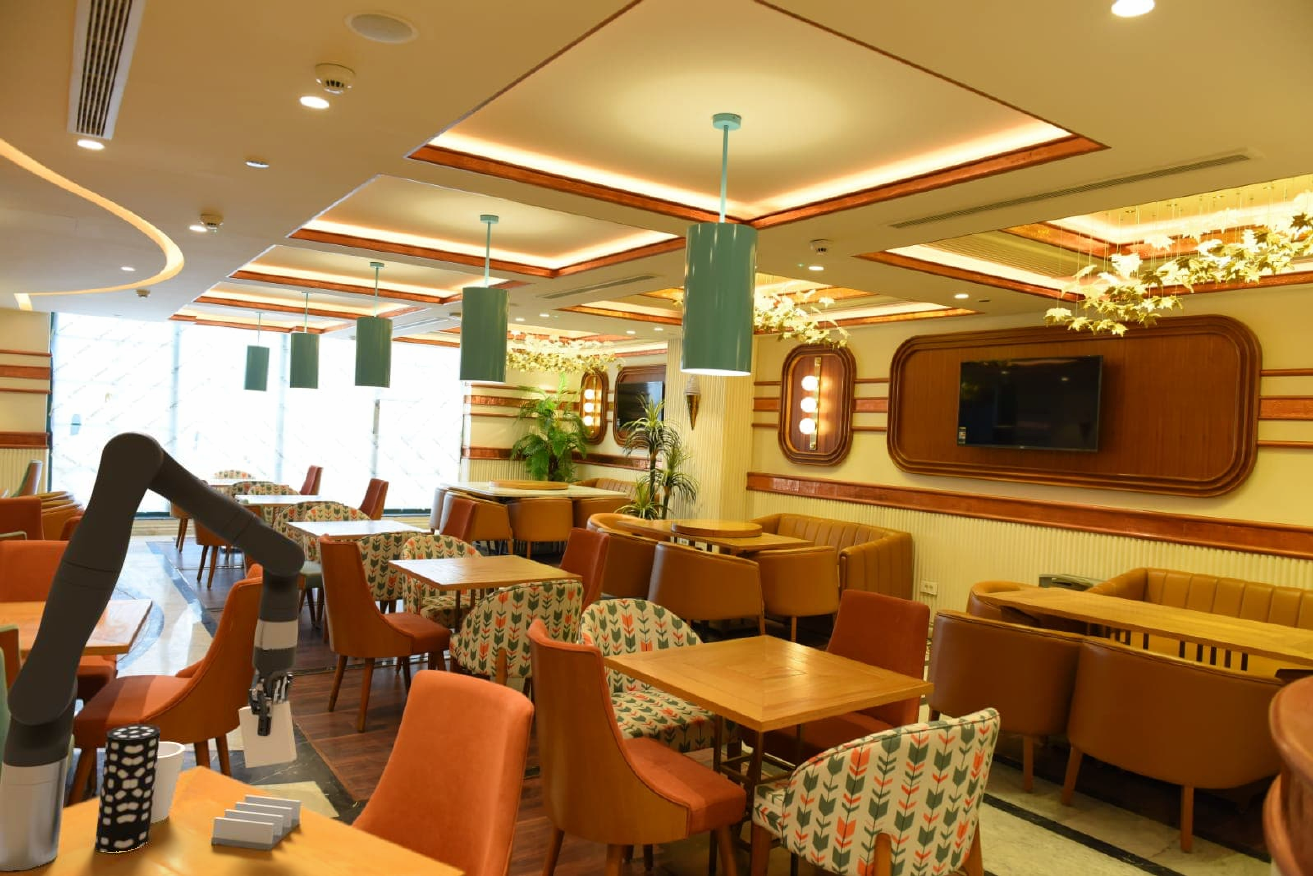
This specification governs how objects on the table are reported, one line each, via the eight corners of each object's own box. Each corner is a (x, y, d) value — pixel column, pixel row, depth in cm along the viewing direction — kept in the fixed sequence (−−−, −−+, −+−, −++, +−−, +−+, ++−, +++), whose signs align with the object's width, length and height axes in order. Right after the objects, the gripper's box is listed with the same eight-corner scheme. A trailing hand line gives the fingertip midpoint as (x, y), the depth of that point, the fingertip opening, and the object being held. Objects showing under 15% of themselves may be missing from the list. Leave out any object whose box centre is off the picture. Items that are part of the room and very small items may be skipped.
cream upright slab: (246, 768, 163) (238, 710, 163) (251, 764, 165) (243, 707, 165) (292, 761, 163) (284, 703, 163) (296, 758, 165) (289, 700, 165)
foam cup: (187, 817, 167) (194, 750, 168) (137, 832, 160) (145, 762, 160) (161, 803, 172) (168, 738, 173) (112, 817, 165) (119, 749, 165)
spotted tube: (123, 857, 150) (135, 742, 151) (83, 849, 152) (95, 735, 152) (159, 838, 158) (171, 729, 159) (121, 830, 160) (132, 722, 160)
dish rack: (210, 843, 158) (213, 819, 158) (245, 817, 170) (247, 794, 170) (269, 850, 157) (271, 825, 157) (299, 823, 169) (301, 800, 169)
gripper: (274, 633, 171) (265, 720, 171) (237, 648, 158) (228, 743, 157) (311, 637, 171) (302, 724, 171) (277, 652, 157) (267, 747, 157)
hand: (266, 733), depth 164 cm, fingers closed on cream upright slab, 2 cm apart
